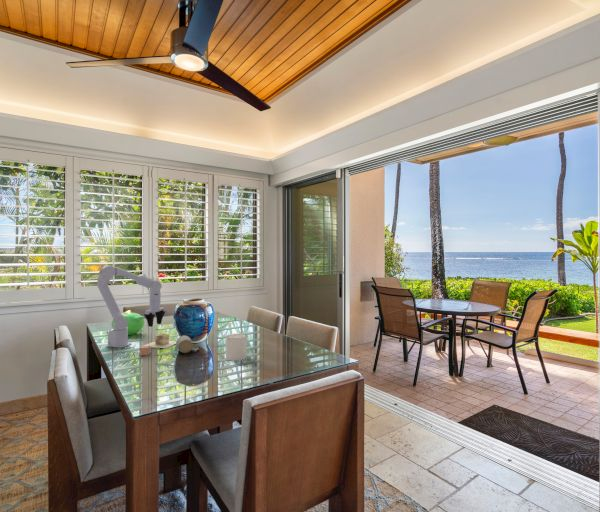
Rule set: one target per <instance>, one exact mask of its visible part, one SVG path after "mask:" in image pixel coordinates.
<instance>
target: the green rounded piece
mask: <svg viewBox="0 0 600 512" xmlns="http://www.w3.org/2000/svg"><path fill="white" fill-rule="evenodd" d="M121 314H122V315H123V317H124V318H125V319H126V320H127V321H128V326H127V328H128V336H131V335H135V334H138V333H139V332H141V330H143V328H144V326H145V319H146V317H145V316H143V315H141V314H140V313H137V312H133V311H132V310H130V309H128V310H126V311H124V312H121ZM114 327H115V325H114V324H113V320H112V322H111V329H113V328H114Z"/></svg>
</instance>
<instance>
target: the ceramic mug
mask: <svg viewBox="0 0 600 512" xmlns="http://www.w3.org/2000/svg"><path fill="white" fill-rule="evenodd" d="M175 346H176V348H177V349H178V351H179V352H180V353H182V354H188V353H190V352H191V351H193V352H198V351H197V350H199V347H198V346H197V345H195V344H193V341H192V339H191V337H189V335H181V336H179V337H178V338H177V339H176V345H175Z"/></svg>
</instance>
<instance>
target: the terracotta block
mask: <svg viewBox="0 0 600 512" xmlns="http://www.w3.org/2000/svg"><path fill="white" fill-rule="evenodd" d="M151 349H152V348H151V346H143V345H142V346H140V347H139V357H143V356H142V355H148V356H150V355H151V354H150V353H151Z"/></svg>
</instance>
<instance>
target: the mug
mask: <svg viewBox="0 0 600 512" xmlns="http://www.w3.org/2000/svg"><path fill="white" fill-rule="evenodd" d="M247 355H248V334H245V333H229V334H227V335H225V360H227V361H231V360H233V362H234V361H235V360H239V361H243V360H242V359H244V360H246V359H247V358H248V356H247ZM245 358H246V359H245ZM235 362H236V361H235Z"/></svg>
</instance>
